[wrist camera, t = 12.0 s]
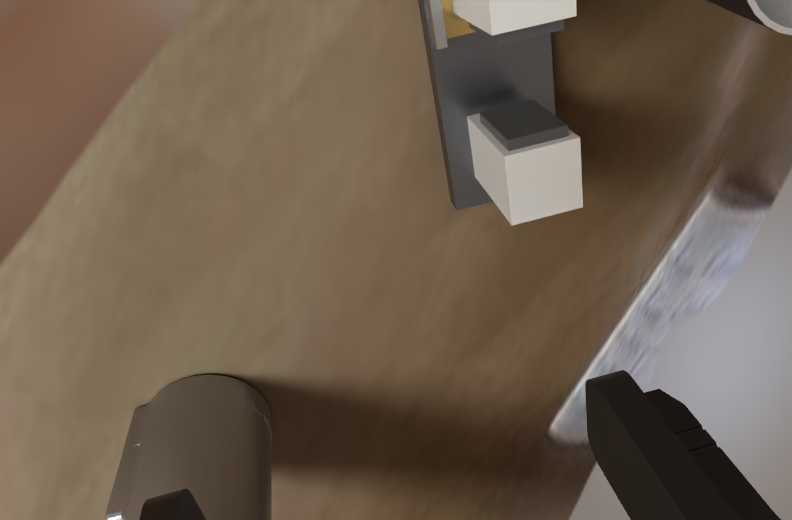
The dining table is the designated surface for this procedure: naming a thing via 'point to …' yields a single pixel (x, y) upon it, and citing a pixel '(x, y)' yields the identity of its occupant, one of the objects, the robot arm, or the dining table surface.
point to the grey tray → (477, 86)
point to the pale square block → (514, 17)
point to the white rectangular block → (526, 161)
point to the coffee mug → (763, 12)
